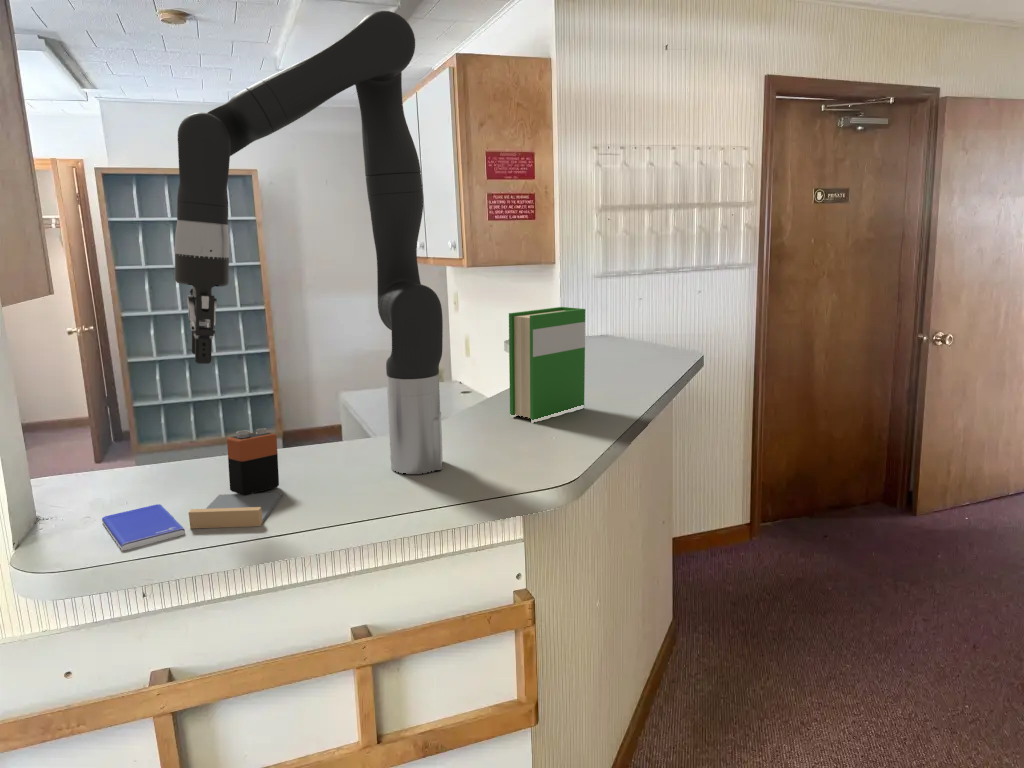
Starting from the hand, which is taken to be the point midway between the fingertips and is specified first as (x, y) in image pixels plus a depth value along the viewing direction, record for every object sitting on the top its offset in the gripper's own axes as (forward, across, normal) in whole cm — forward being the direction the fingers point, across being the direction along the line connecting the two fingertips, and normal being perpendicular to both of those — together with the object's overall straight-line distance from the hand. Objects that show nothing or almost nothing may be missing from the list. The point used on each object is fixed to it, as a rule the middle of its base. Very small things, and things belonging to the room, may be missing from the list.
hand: (201, 358), depth 109 cm
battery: (+22, -1, -8) cm, 24 cm away
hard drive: (+25, -9, +8) cm, 27 cm away
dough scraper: (+22, -8, -5) cm, 24 cm away
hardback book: (+15, +20, -76) cm, 80 cm away
